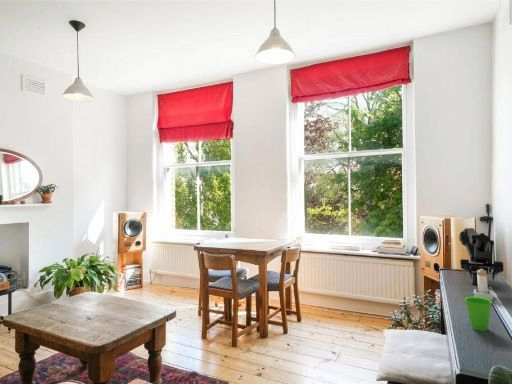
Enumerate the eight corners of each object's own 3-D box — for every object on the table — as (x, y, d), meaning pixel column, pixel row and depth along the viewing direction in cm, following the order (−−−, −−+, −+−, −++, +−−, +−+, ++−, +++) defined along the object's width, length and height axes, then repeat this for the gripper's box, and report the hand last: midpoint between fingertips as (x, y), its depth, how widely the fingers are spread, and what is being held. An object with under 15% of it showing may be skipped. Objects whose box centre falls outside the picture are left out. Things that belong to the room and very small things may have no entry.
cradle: (474, 294, 170) (473, 288, 171) (492, 296, 166) (492, 290, 166) (474, 298, 164) (473, 292, 164) (492, 300, 160) (492, 294, 160)
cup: (498, 333, 124) (497, 304, 124) (471, 332, 125) (470, 303, 125) (487, 324, 132) (485, 296, 133) (462, 323, 134) (460, 296, 134)
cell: (478, 295, 168) (476, 268, 168) (488, 296, 166) (486, 268, 166) (478, 297, 165) (476, 269, 165) (488, 298, 162) (486, 270, 163)
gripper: (459, 244, 180) (459, 268, 171) (502, 246, 169) (504, 272, 160) (461, 256, 186) (461, 280, 177) (502, 258, 176) (504, 284, 167)
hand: (482, 279), depth 170 cm, fingers open, 9 cm apart
